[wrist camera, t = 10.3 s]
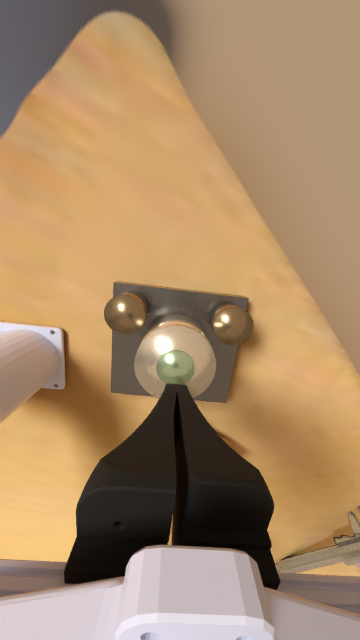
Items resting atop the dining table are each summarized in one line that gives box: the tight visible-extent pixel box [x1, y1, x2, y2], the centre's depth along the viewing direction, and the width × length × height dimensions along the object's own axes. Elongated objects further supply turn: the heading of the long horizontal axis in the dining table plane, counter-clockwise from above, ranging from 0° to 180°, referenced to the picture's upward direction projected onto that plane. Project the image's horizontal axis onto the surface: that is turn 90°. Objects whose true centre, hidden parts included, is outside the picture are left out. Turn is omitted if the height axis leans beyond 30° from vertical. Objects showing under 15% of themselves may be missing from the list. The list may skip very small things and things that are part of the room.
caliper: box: [275, 507, 360, 573], centre depth 30 cm, size 20×1×6 cm, turn 142°
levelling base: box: [104, 281, 253, 403], centre depth 21 cm, size 17×25×7 cm
